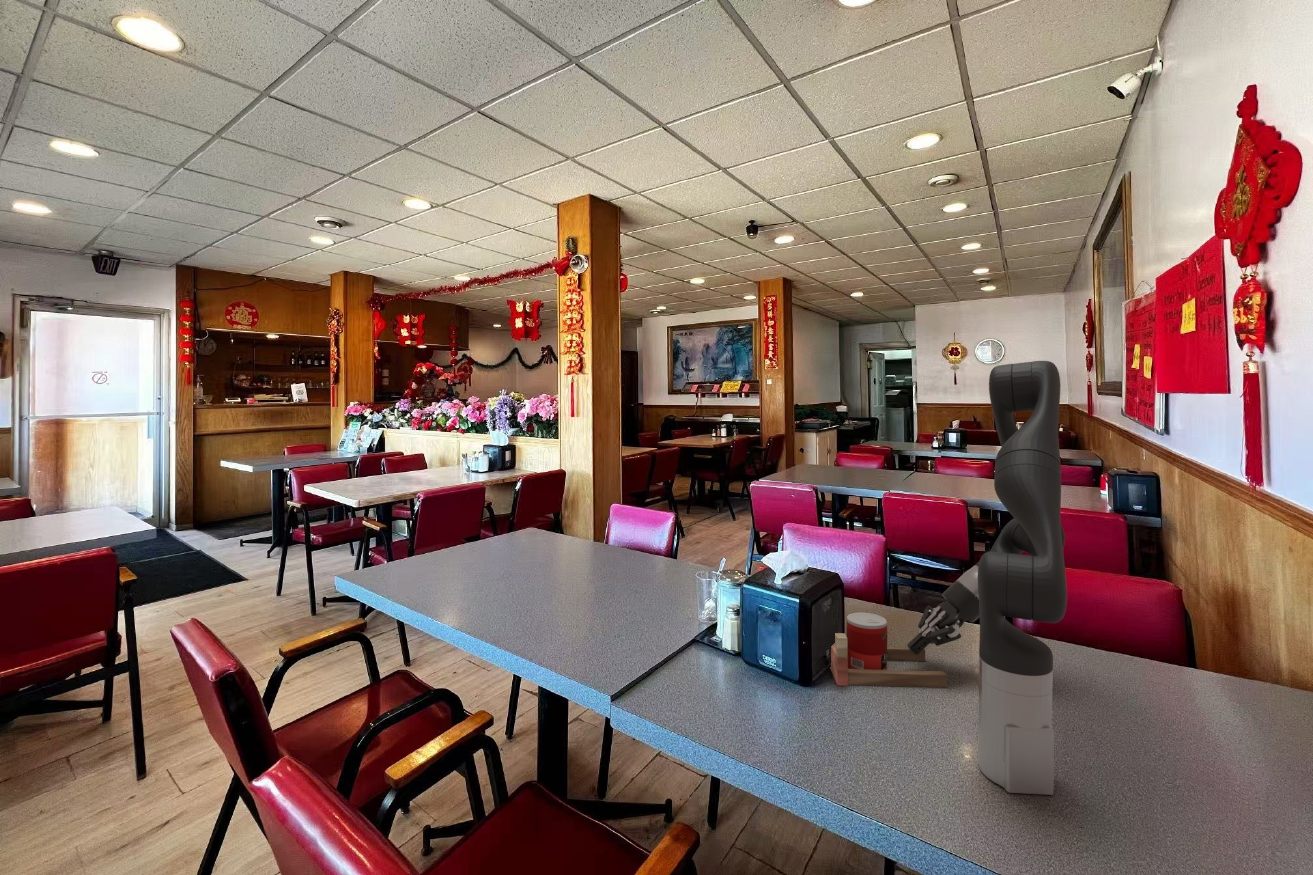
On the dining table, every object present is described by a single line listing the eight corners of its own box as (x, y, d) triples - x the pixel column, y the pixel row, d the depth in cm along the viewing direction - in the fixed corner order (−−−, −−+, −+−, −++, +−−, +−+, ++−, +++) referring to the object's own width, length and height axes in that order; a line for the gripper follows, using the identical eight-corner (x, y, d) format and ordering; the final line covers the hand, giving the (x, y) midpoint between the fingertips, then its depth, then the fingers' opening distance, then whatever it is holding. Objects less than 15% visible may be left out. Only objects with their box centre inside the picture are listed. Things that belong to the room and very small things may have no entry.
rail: (948, 688, 109) (948, 641, 108) (837, 685, 111) (837, 638, 110) (921, 656, 123) (921, 614, 122) (824, 654, 125) (823, 612, 124)
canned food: (891, 679, 113) (891, 626, 112) (850, 677, 114) (850, 624, 114) (882, 662, 120) (882, 612, 120) (843, 660, 122) (843, 611, 121)
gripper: (946, 570, 121) (888, 625, 123) (975, 590, 108) (909, 651, 110) (971, 595, 121) (913, 649, 122) (1003, 618, 107) (937, 678, 109)
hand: (911, 650), depth 116 cm, fingers closed
